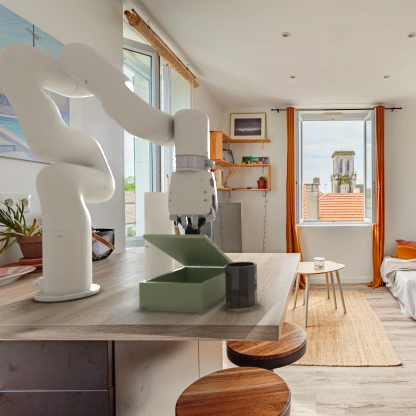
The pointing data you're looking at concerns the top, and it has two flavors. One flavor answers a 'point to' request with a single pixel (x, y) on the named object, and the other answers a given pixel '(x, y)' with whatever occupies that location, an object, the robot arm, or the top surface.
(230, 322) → the top surface
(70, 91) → the robot arm
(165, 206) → the cylindrical container
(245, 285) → the cup
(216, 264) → the lid
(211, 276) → the open green box
